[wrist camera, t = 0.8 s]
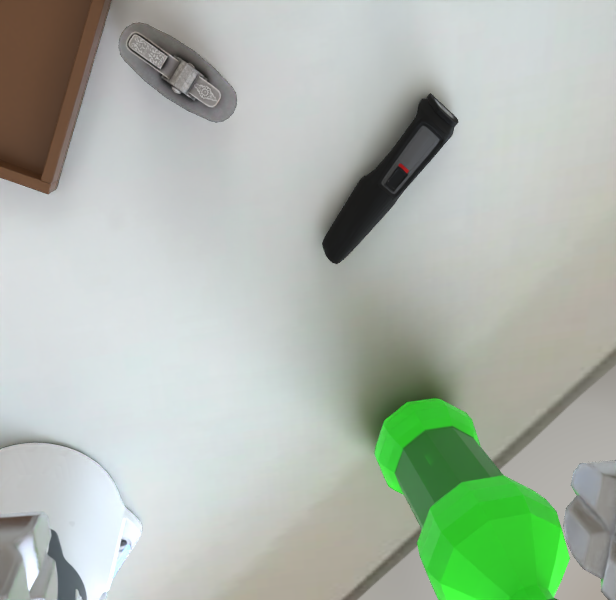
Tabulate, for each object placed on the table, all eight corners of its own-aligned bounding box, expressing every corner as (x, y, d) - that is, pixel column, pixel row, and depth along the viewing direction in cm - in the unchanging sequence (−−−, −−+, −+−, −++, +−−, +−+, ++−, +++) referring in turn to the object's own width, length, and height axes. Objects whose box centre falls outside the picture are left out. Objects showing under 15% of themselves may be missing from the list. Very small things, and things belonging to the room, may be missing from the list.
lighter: (240, 91, 45) (250, 89, 35) (216, 129, 45) (220, 137, 36) (146, 23, 42) (131, 1, 33) (122, 64, 43) (101, 54, 33)
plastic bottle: (444, 363, 56) (620, 553, 32) (473, 448, 60) (648, 671, 36) (349, 406, 55) (457, 628, 32) (383, 488, 59) (502, 739, 36)
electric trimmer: (306, 239, 50) (313, 248, 47) (425, 89, 47) (440, 89, 44) (339, 264, 51) (348, 275, 48) (457, 119, 48) (474, 121, 45)
